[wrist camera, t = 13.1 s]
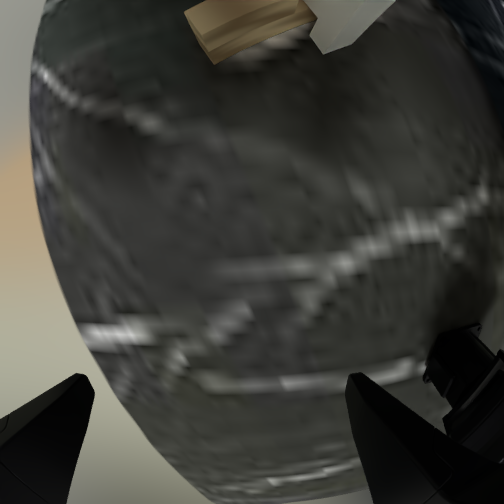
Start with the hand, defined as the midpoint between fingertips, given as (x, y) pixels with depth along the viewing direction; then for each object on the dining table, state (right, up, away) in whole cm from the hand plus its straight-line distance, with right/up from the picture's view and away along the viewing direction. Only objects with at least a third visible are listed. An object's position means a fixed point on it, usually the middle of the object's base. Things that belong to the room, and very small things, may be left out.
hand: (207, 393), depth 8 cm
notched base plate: (+5, +21, +6) cm, 23 cm away
